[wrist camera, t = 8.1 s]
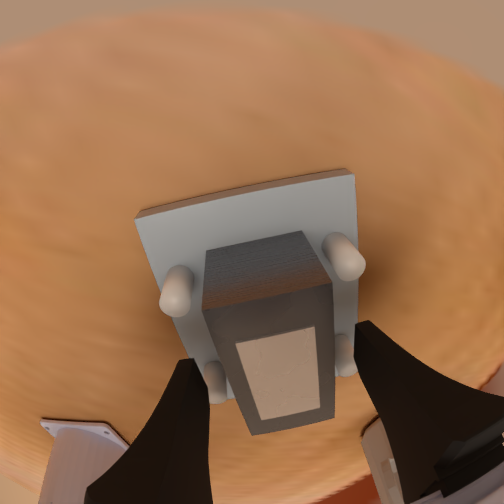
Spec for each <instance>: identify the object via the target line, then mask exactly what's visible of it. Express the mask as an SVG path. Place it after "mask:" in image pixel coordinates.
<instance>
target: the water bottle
mask: <svg viewBox="0 0 504 504" xmlns="http://www.w3.org/2000/svg"><path fill="white" fill-rule="evenodd" d="M361 444H362V447H363V450H364V453H365V455H366V458H367V461H368V464H369V467H370V470H371V473H372V476H373V478H374V481H375V484H376V487H377V490H378V493H379V496H380V499H381V502H382V504H404V501H403V495H402V490H401V485H400V481H399V476H398V472H397V468H396V464H395V461H394V457H393V454H392V450H391V447H390V444H389V441H388V438H387V435H386V432H385V429H384V426H383V423H382V421H381V419H380V417H379V418H378V419H377V420H376V421H375V422H374V423H373V424H371V425H370V426H369V427H368V428H367V429H366V431H365V433H364V436H363V439H362V441H361Z"/></svg>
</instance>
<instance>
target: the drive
mask: <svg viewBox="0 0 504 504" xmlns="http://www.w3.org/2000/svg"><path fill="white" fill-rule="evenodd" d="M201 311H202V313H203V316H204V319H205V322H206V324H207V327H208V330H209V332H210V335H211V338H212V340H213V343H214V346H215V348H216V351H217V353H218V356H219V359H220V361H221V364H222V366H223V369H224V371H225V374H226V376H227V379H228V381H229V384H230V386H231V388H232V391H233V393H234V396H235V398H236V400H237V403H238V405H239V408H240V410H241V412H242V415H243V417H244V419H245V421H246V424H247V426H248V428H249V431H250V433H251V435H252V436H253V435H259V434H265V433H270V432H276V431H281V430H286V429H291V428H295V427H300V426H304V425H308V424H313V423H317V422H321V421H324V420H328V419H332V418H334V414H335V330H334V303H333V283H332V281H331V279H330V277H329V275H328V274H327V272H326V270H325V268H324V267H323V265H322V263H321V262H320V260H319V258H318V256H317V255H316V253H315V251H314V250H313V248H312V246H311V245H310V243H309V241H308V240H307V238H306V236H305V235H304V233H303V231H302V230H300V231H295V232H291V233H286V234H281V235H276V236H272V237H267V238H262V239H258V240H253V241H248V242H243V243H239V244H234V245H229V246H225V247H220V248H216V249H211V250H206V257H205V269H204V281H203V295H202V309H201Z"/></svg>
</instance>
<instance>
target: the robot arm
mask: <svg viewBox="0 0 504 504" xmlns="http://www.w3.org/2000/svg"><path fill="white" fill-rule="evenodd" d="M353 358H354V361H355V364H356V367H357V369H358V372H359V375H360V378H361V380H362V382H363V384H364V386H365V388H366V390H367V392H368V394H369V396H370V398H371V400H372V402H373V404H374V406H375V408H376V410H377V412H378V414H379V416H380V419H381V421H382V423H383V426H384V429H385V432H386V435H387V438H388V441H389V444H390V447H391V450H392V454H393V457H394V461H395V464H396V468H397V472H398V476H399V481H400V485H401V490H402V495H403V501H404V504H504V446H503V444H502V443H503V442H504V438H503V436H502V433H503V432H504V397H502V396H498V395H494V394H490V393H485V392H483V391H480V390H477V389H474V388H471V387H468V386H466V385H464V384H461V383H459V382H457V381H455V380H452V379H450V378H448V377H446V376H444V375H442V374H440V373H439V372H437V371H435V370H433V369H432V368H430V367H429V366H427V365H425V364H424V363H422V362H421V361H419V360H418V359H417V358H415V357H414V356H412V355H411V354H410V353H408V352H407V351H406V350H404V349H403V348H402V347H400V346H399V345H398V344H397V343H395V342H394V341H393V340H392V339H391V338H389V337H388V336H387V335H386V334H385V333H383V332H382V331H381V330H380V329H379V328H378V327H376V326H375V325H374V324H373V323H372V322H371V321H369V320H367V321H363V322H360V323H356V324H355V333H354V354H353ZM209 419H210V405H209V393H208V387H207V385H206V383H205V381H204V378H203V376H202V374H201V372H200V370H199V368H198V366H197V363H196V361H195V359H194V358H189V359H182V360H179V361H178V363H177V366H176V368H175V370H174V372H173V374H172V377H171V379H170V381H169V383H168V385H167V387H166V389H165V391H164V393H163V395H162V397H161V399H160V401H159V403H158V405H157V406H156V408H155V410H154V412H153V413H152V415H151V417H150V418H149V420H148V422H147V423H146V425H145V426H144V428H143V429H142V431H141V432H140V434H139V435H138V436H137V438H136V439H135V440H134V442H133V443H132V444H131V445H130V446H129V445H128V444H127V443H126V442H125V441H124V440H123V439H122V438H121V437H120V436H119V435H118V434H117V433H116V432H115V431H114V430H113V429H112V428H111V427H110V426H109V425H107V424H105V423H89V422H70V421H56V420H46V419H41V420H40V424H41V425H42V426H43V427H44V428H45V429H46V430H47V431H48V432H49V433H50V434H51V435H52V436H53V437H54V438H55V440H54V444H53V447H52V451H51V454H50V458H49V461H48V465H47V469H46V473H45V476H44V481H43V485H42V489H41V493H40V498H39V502H38V504H213V500H212V493H211V485H210V475H209V465H208V445H209Z"/></svg>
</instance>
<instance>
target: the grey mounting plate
mask: <svg viewBox="0 0 504 504" xmlns="http://www.w3.org/2000/svg"><path fill="white" fill-rule="evenodd" d="M134 221H135V224H136V227H137V230H138V233H139V236H140V239H141V241H142V244H143V247H144V250H145V253H146V255H147V258H148V261H149V263H150V266H151V269H152V271H153V274H154V276H155V279H156V282H157V284H158V287H159V289H160V292H161V297H160V300H159V306H160V308H161V310H162V311H163V312H164V313H165V314H166V315H168V316H171V318H172V321H173V323H174V325H175V327H176V330H177V332H178V334H179V337H180V339H181V341H182V343H183V345H184V348H185V350H186V352H187V354H188V356H189V358H194V359H195V361H196V363H197V366H198V368H199V370H200V372H201V374H202V376H203V378H204V381H205V383H206V385H207V387H208V393H209V403H211V404H220V403H223V402H225V401H226V400H227V399H233V398H235V396H234V393H233V391H232V388H231V386H230V384H229V381H228V379H227V376H226V374H225V371H224V369H223V366H222V364H221V361H220V359H219V356H218V353H217V351H216V348H215V346H214V343H213V340H212V338H211V335H210V332H209V330H208V327H207V324H206V322H205V319H204V316H203V313H202V311H201V309H202V295H203V281H204V269H205V257H206V250H211V249H216V248H220V247H225V246H229V245H234V244H239V243H243V242H248V241H253V240H258V239H262V238H267V237H272V236H276V235H281V234H286V233H291V232H295V231H300V230H302V231H303V233H304V235H305V236H306V238H307V240H308V241H309V243H310V245H311V246H312V248H313V250H314V251H315V253H316V255H317V256H318V258H319V260H320V262H321V263H322V265H323V267H324V268H325V270H326V272H327V274H328V275H329V277H330V279H331V281H332V283H333V303H334V330H335V377H336V376H342V377H348V376H351V375H353V374H355V373H356V372H358V369H357V367H356V364H355V361H354V358H353V354H354V333H355V324H356V323H358V278H359V277H360V276H361V275H362V274H363V272H364V270H365V267H366V262H365V259H364V258H363V257H362V255H361V254H360V253H359V252H358V228H357V207H356V191H355V178H354V173H352V172H350V171H348V170H347V169H340V170H333V171H327V172H321V173H315V174H309V175H303V176H298V177H292V178H287V179H281V180H276V181H271V182H265V183H260V184H255V185H250V186H245V187H241V188H236V189H231V190H226V191H222V192H217V193H213V194H208V195H204V196H199V197H195V198H191V199H187V200H182V201H178V202H174V203H170V204H166V205H162V206H158V207H154V208H150V209H146V210H143V211H140V212H139V213H138V214H137V216H136V217H135V219H134Z"/></svg>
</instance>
